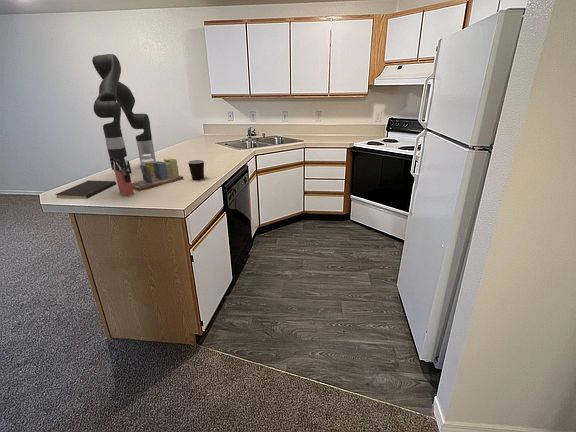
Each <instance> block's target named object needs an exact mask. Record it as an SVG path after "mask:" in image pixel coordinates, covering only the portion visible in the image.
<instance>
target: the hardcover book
mask: <svg viewBox="0 0 576 432" xmlns="http://www.w3.org/2000/svg"><path fill="white" fill-rule="evenodd" d="M116 185H117V181H115V180H86V181H84V182H81V183H79V184H77V185H74V186H73V187H72V186H71V187H70V188H68V189H65V190H62V191H60V192H58V193H55V194H54V195H55V196H56V198H58V199H60V198H61V199H89V198H92V197H94V196H96V195H98V194H100V193H101V192H104V191H106V190H107V189H109V188H112V187H114V186H116Z"/></svg>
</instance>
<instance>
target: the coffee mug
mask: <svg viewBox="0 0 576 432" xmlns="http://www.w3.org/2000/svg"><path fill="white" fill-rule="evenodd" d="M187 164H188V168H189V171H190V175H191V180H192V181H195V182H196V181H197V182H198V181H203V180H204V179H205V161H204V160H202V159H194V160H193V159H192V160H189V161H187Z"/></svg>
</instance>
